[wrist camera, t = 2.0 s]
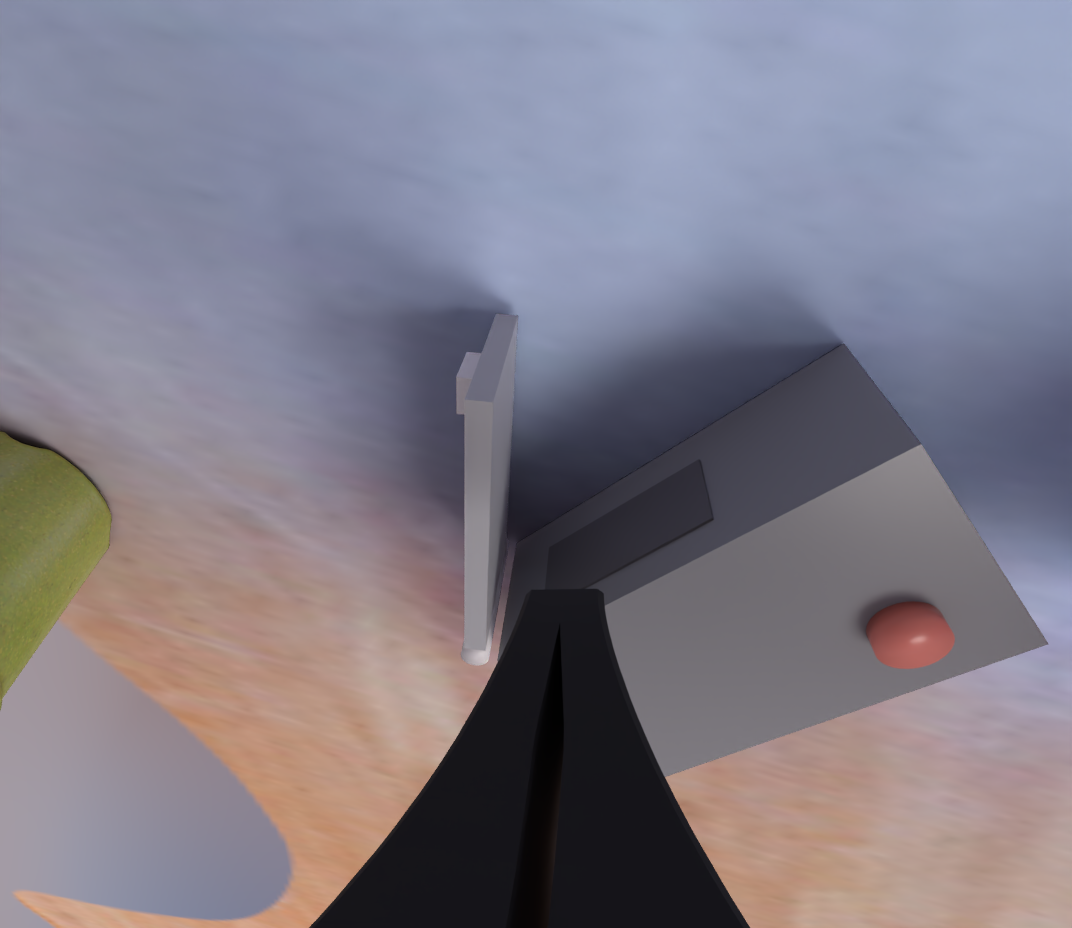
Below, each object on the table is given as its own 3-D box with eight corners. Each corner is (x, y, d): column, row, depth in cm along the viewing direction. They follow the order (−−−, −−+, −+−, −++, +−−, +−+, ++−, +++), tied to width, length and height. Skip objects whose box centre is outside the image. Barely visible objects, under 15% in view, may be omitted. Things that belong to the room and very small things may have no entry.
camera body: (842, 341, 17) (932, 458, 12) (956, 517, 20) (1063, 664, 15) (483, 561, 23) (453, 696, 18) (612, 672, 26) (615, 812, 21)
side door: (478, 311, 17) (440, 397, 13) (521, 315, 17) (497, 402, 13) (474, 548, 22) (447, 662, 18) (508, 552, 22) (488, 666, 18)
